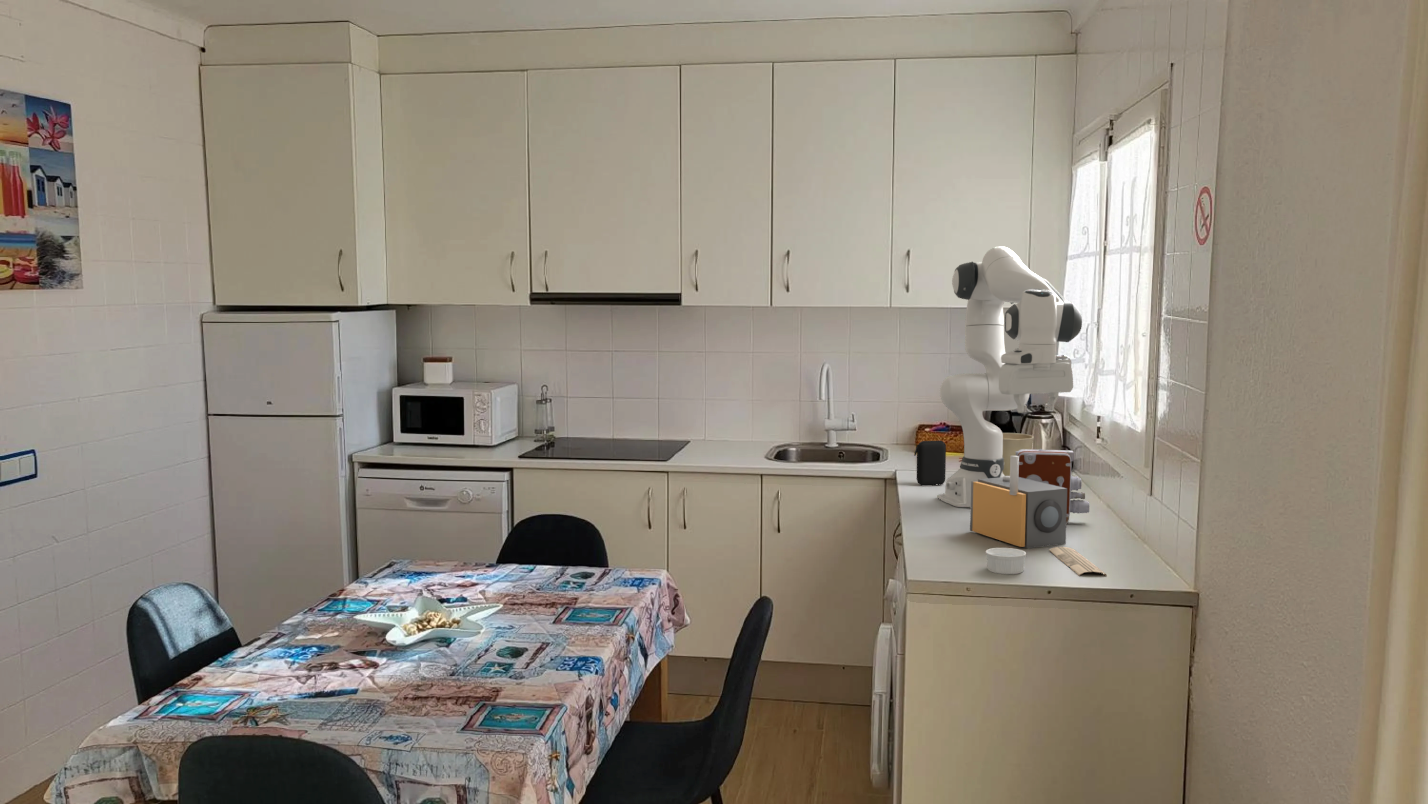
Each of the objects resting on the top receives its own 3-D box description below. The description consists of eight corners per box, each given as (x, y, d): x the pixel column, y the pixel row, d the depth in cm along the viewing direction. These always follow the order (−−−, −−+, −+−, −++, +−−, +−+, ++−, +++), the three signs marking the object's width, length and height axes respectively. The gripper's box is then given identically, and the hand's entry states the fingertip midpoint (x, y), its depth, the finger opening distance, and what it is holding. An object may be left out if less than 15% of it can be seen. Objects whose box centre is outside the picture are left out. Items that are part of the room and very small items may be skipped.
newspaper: (1106, 579, 237) (1106, 571, 236) (1074, 578, 237) (1074, 570, 237) (1073, 553, 260) (1074, 546, 260) (1044, 553, 260) (1044, 546, 260)
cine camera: (1090, 527, 286) (1093, 453, 285) (1015, 524, 290) (1017, 451, 288) (1086, 520, 295) (1088, 448, 293) (1013, 517, 299) (1014, 446, 297)
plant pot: (976, 483, 354) (977, 435, 352) (1002, 478, 364) (1003, 431, 362) (1015, 489, 343) (1016, 439, 341) (1041, 483, 352) (1042, 435, 351)
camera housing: (976, 531, 281) (978, 475, 280) (1014, 527, 286) (1015, 472, 284) (1029, 549, 262) (1031, 488, 260) (1068, 544, 266) (1070, 485, 265)
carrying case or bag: (915, 486, 348) (916, 441, 347) (912, 485, 351) (912, 440, 350) (946, 485, 350) (947, 441, 348) (943, 484, 353) (944, 439, 351)
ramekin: (982, 573, 240) (983, 554, 239) (987, 564, 248) (987, 545, 247) (1024, 577, 236) (1024, 557, 236) (1027, 567, 245) (1027, 548, 244)
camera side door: (966, 530, 281) (967, 447, 278) (973, 529, 281) (975, 446, 279) (1017, 547, 262) (1019, 458, 259) (1024, 546, 262) (1026, 457, 260)
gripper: (1062, 354, 269) (1060, 408, 270) (995, 356, 261) (994, 412, 263) (1079, 355, 263) (1078, 411, 265) (1011, 357, 255) (1010, 414, 257)
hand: (1035, 411), depth 263 cm, fingers open, 7 cm apart
